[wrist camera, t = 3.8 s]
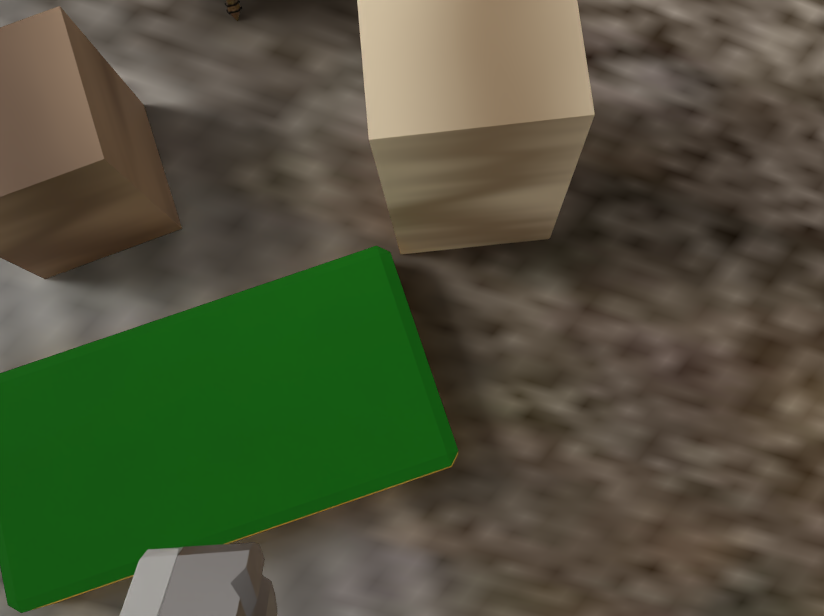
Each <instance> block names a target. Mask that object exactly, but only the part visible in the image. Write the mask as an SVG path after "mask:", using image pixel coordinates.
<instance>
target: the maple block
mask: <svg viewBox="0 0 824 616" xmlns="http://www.w3.org/2000/svg"><path fill="white" fill-rule="evenodd" d="M357 3H358V15H359V27H360V39H361V51H362V63H363V76H364V88H365V100H366V112H367V124H368V136H369V142H370V146H371V149H372V153H373V157H374V160H375V164H376V167H377V171H378V175H379V178H380V182H381V185H382V189H383V193H384V196H385V200H386V203H387V207H388V211H389V214H390V218H391V221H392V225H393V229H394V232H395V236H396V239H397V243H398V247H399V250H400V254H410V253H419V252H429V251H438V250H448V249H458V248H467V247H477V246H486V245H496V244H505V243H515V242H524V241H534V240H543V239H550V237H551V234H552V231H553V228H554V226H555V223H556V220H557V217H558V215H559V212H560V209H561V206H562V204H563V201H564V198H565V195H566V193H567V190H568V187H569V184H570V182H571V179H572V176H573V173H574V171H575V168H576V165H577V162H578V159H579V157H580V154H581V151H582V148H583V146H584V143H585V140H586V137H587V135H588V132H589V129H590V126H591V124H592V121H593V118H594V115H595V113H594V107H593V100H592V94H591V87H590V81H589V74H588V68H587V61H586V55H585V49H584V42H583V36H582V29H581V23H580V16H579V10H578V3H577V0H357Z"/></svg>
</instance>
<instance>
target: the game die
mask: <svg viewBox="0 0 824 616" xmlns="http://www.w3.org/2000/svg"><path fill="white" fill-rule="evenodd" d="M239 2H240V1H239V0H226V3H225V5H226V7H227V9H228V10H227V12H228V13H229V14H231V15H232V16H233V17H234V18H235V19H236V20H237V21H238V18H239V14H240V10H241V9H242V7H240V5H239Z"/></svg>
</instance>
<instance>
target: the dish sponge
mask: <svg viewBox="0 0 824 616" xmlns="http://www.w3.org/2000/svg"><path fill="white" fill-rule="evenodd" d="M457 455H458V448H457V445H456V442H455V440H454V437H453V434H452V431H451V428H450V425H449V422H448V419H447V416H446V413H445V410H444V407H443V405H442V402H441V399H440V396H439V393H438V390H437V387H436V384H435V381H434V378H433V375H432V372H431V370H430V367H429V364H428V361H427V358H426V355H425V352H424V349H423V346H422V343H421V340H420V337H419V335H418V332H417V329H416V326H415V323H414V320H413V317H412V314H411V311H410V308H409V305H408V302H407V300H406V297H405V294H404V291H403V288H402V285H401V282H400V279H399V276H398V273H397V270H396V267H395V265H394V262H393V259H392V256H391V253H390V252H389V251H387V250H385V249H383V248H380V247H378V246H374V247H371V248H368V249H365V250H363V251H360V252H357V253H354V254H351V255H348V256H345V257H342V258H339V259H336V260H333V261H330V262H327V263H324V264H321V265H318V266H315V267H312V268H309V269H307V270H304V271H301V272H298V273H295V274H292V275H289V276H286V277H283V278H280V279H277V280H274V281H271V282H268V283H265V284H262V285H259V286H256V287H253V288H250V289H248V290H245V291H242V292H239V293H236V294H233V295H230V296H227V297H224V298H221V299H218V300H215V301H212V302H209V303H206V304H203V305H200V306H197V307H194V308H192V309H189V310H186V311H183V312H180V313H177V314H174V315H171V316H168V317H165V318H162V319H159V320H156V321H153V322H150V323H147V324H144V325H141V326H138V327H136V328H133V329H130V330H127V331H124V332H121V333H118V334H115V335H112V336H109V337H106V338H103V339H100V340H97V341H94V342H91V343H88V344H85V345H82V346H80V347H77V348H74V349H71V350H68V351H65V352H62V353H59V354H56V355H53V356H50V357H47V358H44V359H41V360H38V361H35V362H32V363H29V364H26V365H24V366H21V367H18V368H15V369H12V370H9V371H6V372H3V373H0V567H1V572H2V578H3V583H4V588H5V593H6V598H7V603H8V605H9V606H10V607H12V608H14V609H15V610H17V611H19V612H20V613H23V612H27V611H30V610H34V609H37V608H40V607H44V606H47V605H51V604H54V603H57V602H60V601H63V600H66V599H69V598H72V597H75V596H77V595H80V594H83V593H86V592H89V591H92V590H95V589H98V588H101V587H104V586H107V585H109V584H112V583H115V582H118V581H121V580H124V579H127V578H130V577H133V576H134V573H135V570H136V568H137V565H138V562H139V560H140V559H141V557H142V556H143V555H144V553H145V552H146V551H147V550H148V549H163V548H178V547H188V546H205V545H222V544H229V543H232V542H235V541H238V540H241V539H243V538H246V537H249V536H252V535H255V534H258V533H261V532H264V531H267V530H270V529H273V528H276V527H278V526H281V525H284V524H287V523H290V522H293V521H296V520H299V519H302V518H305V517H308V516H310V515H313V514H316V513H319V512H322V511H325V510H328V509H331V508H334V507H337V506H340V505H343V504H345V503H348V502H351V501H354V500H357V499H360V498H363V497H366V496H369V495H372V494H375V493H377V492H380V491H383V490H386V489H389V488H392V487H395V486H398V485H401V484H404V483H407V482H410V481H412V480H415V479H418V478H421V477H424V476H427V475H430V474H433V473H436V472H439V471H442V470H444V469H447V468H450V467H452V466H453V464H454V462H455V459H456V457H457Z"/></svg>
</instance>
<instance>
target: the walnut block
mask: <svg viewBox="0 0 824 616" xmlns="http://www.w3.org/2000/svg"><path fill="white" fill-rule="evenodd" d="M180 229H182V227H181V224H180V220H179V217H178V214H177V211H176V207H175V204H174V201H173V198H172V195H171V191H170V188H169V185H168V182H167V178H166V175H165V172H164V169H163V166H162V162H161V159H160V156H159V153H158V149H157V146H156V143H155V140H154V137H153V133H152V130H151V127H150V124H149V120H148V117H147V114H146V111H145V108H144V105H143V104H142V102H141V101H140V100H139V99H138V98H137V96H136V95H135V94H134V93H133V92H132V91H131V89H130V88H129V87H128V86H127V85H126V84H125V82H124V81H123V80H122V79H121V78H120V76H119V75H118V74H117V73H116V72H115V71H114V69H113V68H112V67H111V66H110V65H109V64H108V62H107V61H106V60H105V59H104V58H103V56H102V55H101V54H100V53H99V52H98V51H97V49H96V48H95V47H94V46H93V45H92V44H91V42H90V41H89V40H88V39H87V38H86V36H85V35H84V34H83V33H82V32H81V31H80V29H79V28H78V27H77V26H76V25H75V24H74V22H73V21H72V20H71V19H70V18H69V16H68V15H67V14H66V13H65V12H64V11H63V9H62V8H61V7H60V6H58V7H56V8H53V9H50V10H47V11H45V12H42V13H39V14H36V15H34V16H31V17H28V18H25V19H22V20H20V21H17V22H14V23H11V24H9V25H6V26H3V27H0V258H2V259H4V260H7V261H9V262H11V263H13V264H15V265H17V266H19V267H21V268H23V269H25V270H27V271H29V272H32V273H34V274H36V275H38V276H40V277H42V278H44V279H47V278H49V277H52V276H55V275H57V274H60V273H63V272H66V271H68V270H71V269H74V268H76V267H79V266H82V265H85V264H87V263H90V262H93V261H95V260H98V259H101V258H104V257H106V256H109V255H112V254H114V253H117V252H120V251H123V250H125V249H128V248H131V247H134V246H136V245H139V244H142V243H144V242H147V241H150V240H153V239H155V238H158V237H161V236H163V235H166V234H169V233H172V232H174V231H177V230H180Z"/></svg>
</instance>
